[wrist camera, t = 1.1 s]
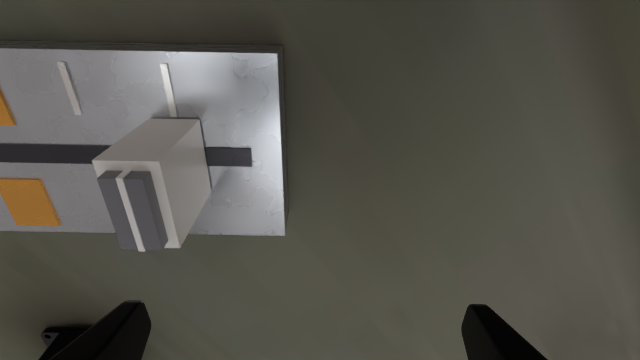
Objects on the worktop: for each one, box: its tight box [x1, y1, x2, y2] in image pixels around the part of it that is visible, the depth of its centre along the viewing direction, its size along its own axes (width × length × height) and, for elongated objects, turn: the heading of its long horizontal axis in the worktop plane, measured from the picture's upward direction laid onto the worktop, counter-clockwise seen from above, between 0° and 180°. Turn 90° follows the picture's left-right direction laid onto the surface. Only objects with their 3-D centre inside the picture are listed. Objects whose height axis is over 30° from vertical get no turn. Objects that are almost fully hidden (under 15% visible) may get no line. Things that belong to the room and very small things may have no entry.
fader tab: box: [92, 119, 211, 252], centre depth 15 cm, size 4×2×5 cm, turn 179°
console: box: [0, 40, 289, 236], centre depth 18 cm, size 10×18×3 cm, turn 89°
